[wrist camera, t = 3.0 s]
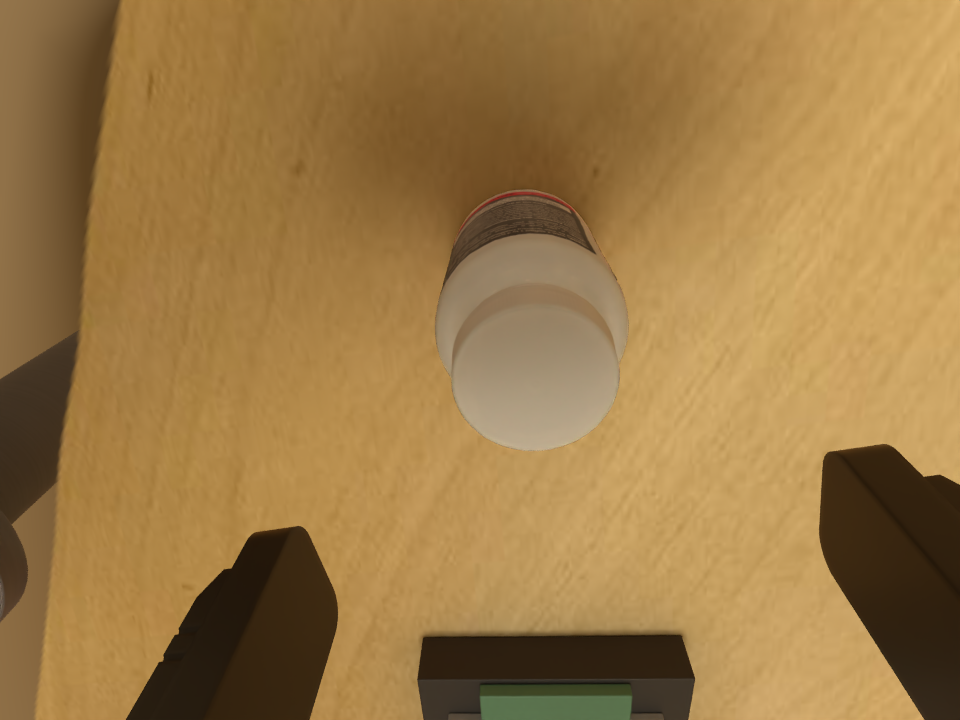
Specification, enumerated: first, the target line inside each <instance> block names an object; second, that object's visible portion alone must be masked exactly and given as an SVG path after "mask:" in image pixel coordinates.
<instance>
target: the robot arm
mask: <svg viewBox="0 0 960 720" xmlns="http://www.w3.org/2000/svg"><path fill="white" fill-rule="evenodd" d="M819 536H820V543H821V548H822V551H823V555H824V558H825V561H826V563H827V565H828V568H829V570H830V572H831V574H832V575H833V577H834V579H835V580H836V582H837V583H838V585H839V587H840V588H841V590H842V591H843V593H844V594H845V596H846V598H847V599H848V601H849V602H850V604H851V605H852V607H853V608H854V610H855V612H856V613H857V615H858V616H859V618H860V619H861V621H862V623H863V624H864V626H865V627H866V629H867V630H868V632H869V634H870V635H871V637H872V638H873V640H874V641H875V643H876V644H877V646H878V648H879V649H880V651H881V652H882V654H883V655H884V657H885V659H886V660H887V662H888V663H889V665H890V666H891V668H892V670H893V671H894V673H895V674H896V676H897V677H898V679H899V681H900V682H901V684H902V685H903V687H904V688H905V690H906V691H907V693H908V695H909V696H910V698H911V699H912V701H913V702H914V704H915V706H916V707H917V709H918V710H919V712H920V713H921V715H922V717H923V718H924V720H960V485H959V484H957V483H955V482H953V481H951V480H949V479H948V478H946V477H944V476H942V475H934V476H927V477H923V476H922V475H921V474H920V473H919V472H918V471H917V470H916V469H915V468H914V467H913V466H912V465H911V464H910V463H909V462H908V461H907V460H906V459H905V458H904V457H903V456H902V455H901V454H900V453H899V452H898V451H897V450H896V449H895V448H893V447H892V446H890V445H887V444H881V445H874V446H867V447H860V448H853V449H846V450H839V451H832V452H828V453H827V454H826V455H825V457H824V460H823V470H822V488H821V506H820V524H819ZM337 621H338V606H337V599H336V595H335V591H334V589H333V587H332V584H331V582H330V580H329V578H328V576H327V573H326V571H325V569H324V567H323V565H322V562H321V560H320V558H319V556H318V554H317V551H316V549H315V547H314V545H313V543H312V540H311V538H310V536H309V534H308V532H307V531H306V530H305V529H304V528H303V527H301V526H296V527H289V528H282V529H275V530H268V531H261V532H256V533H253V534H252V535H251V536H250V537H249V538H248V540H247V541H246V543H245V545H244V547H243V549H242V550H241V552H240V554H239V556H238V558H237V560H236V561H235V563H234V565H233V567H232V569H224V570H223V571H222V572H221V573H220V574H219V575H218V576H217V577H216V578H215V579H214V580H213V581H212V582H211V583H210V584H209V585H208V586H207V587H206V588H205V589H204V591H203V592H202V593H201V594H200V595H199V596H198V597H197V598H196V600H195V601H194V603H193V605H192V606H191V608H190V610H189V612H188V613H187V615H186V617H185V619H184V620H183V622H182V624H181V625H180V627H179V634H178V635H175V636H174V637H173V639H172V641H171V643H170V644H169V646H168V648H167V650H166V651H165V653H164V655H163V656H164V660H163V662H159V663H158V665H157V667H156V669H155V670H154V672H153V674H152V675H151V677H150V679H149V681H148V682H147V684H146V686H145V687H144V689H143V691H142V693H141V694H140V696H139V698H138V700H137V701H136V703H135V705H134V706H133V708H132V710H131V712H130V713H129V715H128V717H127V718H126V720H309V719H310V716H311V713H312V709H313V706H314V703H315V699H316V696H317V693H318V689H319V686H320V683H321V679H322V676H323V673H324V669H325V666H326V663H327V659H328V656H329V653H330V649H331V646H332V643H333V639H334V636H335V632H336V628H337Z"/></svg>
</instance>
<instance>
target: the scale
mask: <svg viewBox="0 0 960 720" xmlns="http://www.w3.org/2000/svg"><path fill="white" fill-rule="evenodd" d="M417 680H418V687H419V693H420V699H421V705H422V712H423V718H424V720H688V718H689V712H690V706H691V700H692V694H693V688H694V682H695V677H694V674H693V670H692V667H691V664H690V661H689V658H688V655H687V651H686V648H685V645H684V642H683V639H682V636H591V637H466V638H423V643H422V650H421V657H420V665H419V672H418V679H417Z"/></svg>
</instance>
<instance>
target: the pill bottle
mask: <svg viewBox="0 0 960 720" xmlns="http://www.w3.org/2000/svg"><path fill="white" fill-rule="evenodd" d="M628 329H629V320H628V311H627V307H626V302H625V298H624V295H623V292H622V290H621V287H620V285H619V284H618V282H617V279H616V277H615V275H614V274H613V272H612V270H611V268H610V266H609V264H608V263H607V261H606V260H605V257H604V256H603V254H602V253H601V251H600V249H599V247H598V245H597V243H596V241H595V239H594V237H593V235H592V234H591V232H590V230H589V228H588V226H587V225H586V223H585V222H584V220H583V219H582V218H581V216H580V215H579V214H578V213H577V212H576V211H575V210H574V209H573V208H572V207H571V206H570V205H569V204H567V203H566V202H565V201H563V200H562V199H560V198H558V197H556V196H554V195H552V194H549V193H545V192H541V191H537V190H511V191H507V192H504V193H501V194H498V195H495V196H493V197H491V198H489V199H487V200H485V201H484V202H483V203H481V204H480V205H479V206H478V207H476V208H475V209H474V210H473V211H472V212H471V213H470V214H469V215H468V217H467V218H466V220H465V221H464V222H463V224H462V226H461V228H460V230H459V232H458V234H457V236H456V239H455V241H454V245H453V249H452V252H451V257H450V261H449V264H448V268H447V272H446V275H445V279H444V283H443V287H442V290H441V294H440V297H439V301H438V306H437V312H436V317H435V335H436V344H437V348H438V352H439V355H440V358H441V360H442V363H443V365H444V367H445V369H446V371H447V372H448V374H449V376H450V377H451V381H452V391H453V395H454V399H455V402H456V404H457V406H458V408H459V410H460V412H461V414H462V415H463V417H464V418H465V420H466V421H467V422H468V423H469V424H470V425H471V426H472V427H473V428H474V429H475V430H476V431H477V432H478V433H479V434H481V435H482V436H483V437H485V438H487V439H489V440H491V441H492V442H494V443H496V444H499V445H501V446H504V447H508V448H512V449H517V450H523V451H543V450H550V449H555V448H558V447H562V446H565V445H568V444H570V443H572V442H575V441H577V440H579V439H580V438H582V437H583V436H585V435H587V434H588V433H589V432H591V431H592V430H593V429H594V428H595V427H596V426H597V425H598V424H599V423H600V422H601V421H602V420H603V419H604V417H605V416H606V415H607V413H608V412H609V410H610V409H611V407H612V405H613V403H614V400H615V398H616V394H617V391H618V387H619V380H620V369H619V363H620V361H621V359H622V356H623V353H624V350H625V347H626V343H627V338H628Z"/></svg>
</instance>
